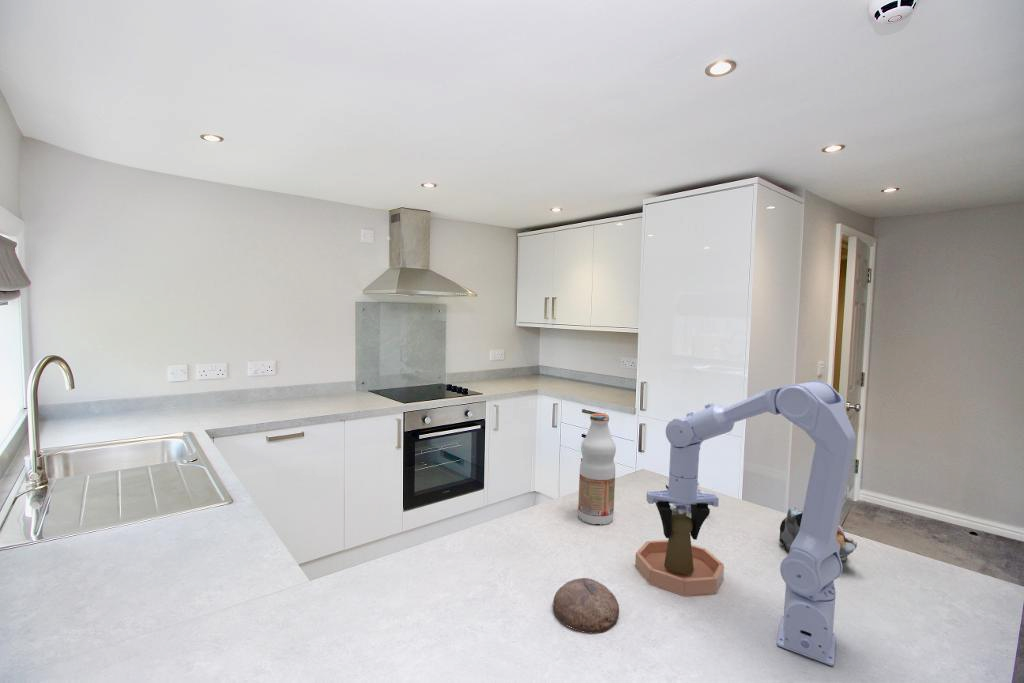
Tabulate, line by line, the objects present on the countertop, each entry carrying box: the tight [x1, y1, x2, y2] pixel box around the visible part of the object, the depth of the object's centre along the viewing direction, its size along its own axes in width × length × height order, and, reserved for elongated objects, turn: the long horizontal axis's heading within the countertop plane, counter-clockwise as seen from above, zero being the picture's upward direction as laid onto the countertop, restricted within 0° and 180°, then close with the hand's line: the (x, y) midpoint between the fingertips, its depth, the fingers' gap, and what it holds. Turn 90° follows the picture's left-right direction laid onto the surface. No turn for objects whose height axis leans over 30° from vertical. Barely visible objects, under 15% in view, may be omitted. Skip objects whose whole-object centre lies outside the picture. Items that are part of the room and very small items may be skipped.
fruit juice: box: [577, 413, 617, 525], centre depth 128 cm, size 9×9×28 cm
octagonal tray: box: [634, 539, 725, 597], centre depth 103 cm, size 17×17×3 cm
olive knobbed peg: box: [664, 513, 694, 574], centre depth 102 cm, size 6×6×11 cm
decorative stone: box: [552, 577, 620, 634], centre depth 88 cm, size 12×12×6 cm
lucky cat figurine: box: [778, 507, 858, 561], centre depth 110 cm, size 15×12×14 cm
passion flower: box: [665, 482, 707, 518], centre depth 134 cm, size 11×11×12 cm
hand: (680, 536), depth 102 cm, fingers closed on olive knobbed peg, 5 cm apart
